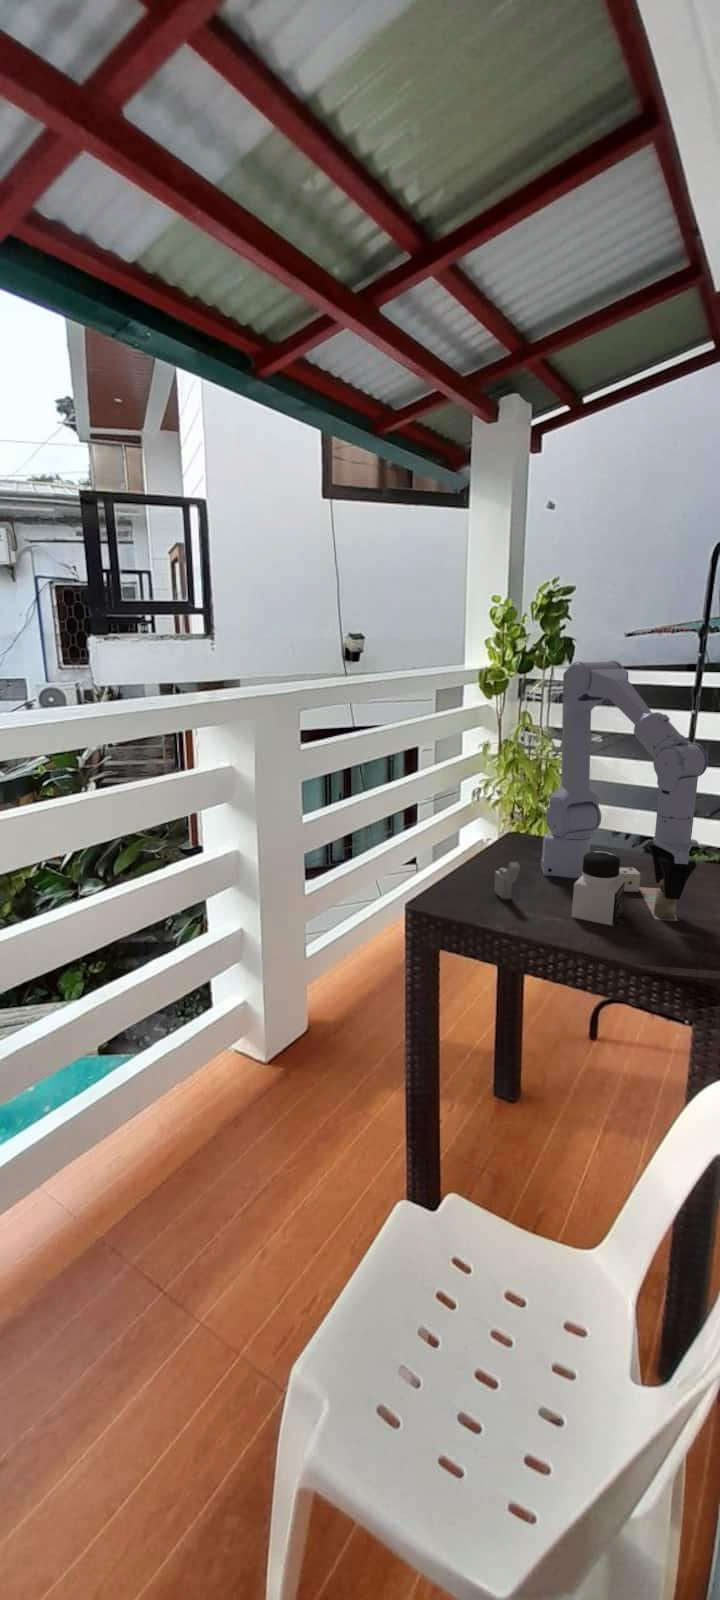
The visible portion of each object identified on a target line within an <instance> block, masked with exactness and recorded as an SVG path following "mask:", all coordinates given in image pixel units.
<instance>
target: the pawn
mask: <svg viewBox="0 0 720 1600" xmlns="http://www.w3.org/2000/svg"><path fill="white" fill-rule="evenodd" d="M656 888H657V887H656ZM677 903H678V900H675V899H666V897H665V892H664V878H663V879H662V880H661V881H660V883H658V888H657V891H656V899H655V908H654V915H655V916H656V917H658V918H662V919H674V918H675V916H676V910H677Z"/></svg>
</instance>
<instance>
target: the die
mask: <svg viewBox="0 0 720 1600" xmlns="http://www.w3.org/2000/svg"><path fill="white" fill-rule="evenodd" d="M619 878H621V879H624V880H625V885H624V892H637V893H639V892H640V890H639V887H640V884H641V873H640V872H639V871H638V870H637V869H636V868H635V867H620V868H619Z"/></svg>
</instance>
